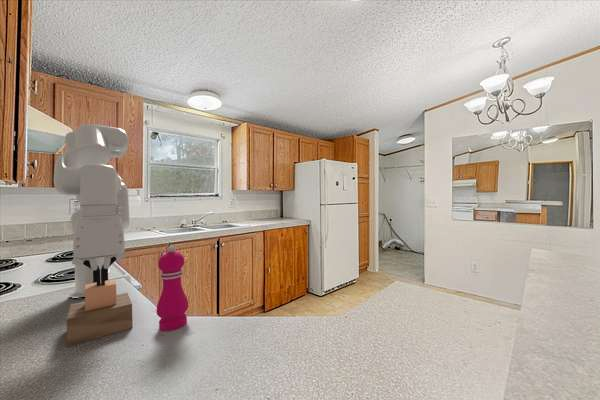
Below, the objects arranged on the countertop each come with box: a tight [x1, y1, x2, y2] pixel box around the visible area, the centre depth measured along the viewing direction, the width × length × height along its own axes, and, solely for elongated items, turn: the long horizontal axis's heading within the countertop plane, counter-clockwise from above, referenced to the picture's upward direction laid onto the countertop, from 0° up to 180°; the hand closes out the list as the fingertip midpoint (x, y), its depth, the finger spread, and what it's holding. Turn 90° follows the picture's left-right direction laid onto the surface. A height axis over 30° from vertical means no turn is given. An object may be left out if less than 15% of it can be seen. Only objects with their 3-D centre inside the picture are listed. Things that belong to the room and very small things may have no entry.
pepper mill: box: [155, 245, 189, 332], centre depth 63 cm, size 7×7×20 cm
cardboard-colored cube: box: [84, 279, 117, 311], centre depth 63 cm, size 6×6×5 cm
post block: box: [66, 292, 134, 347], centre depth 63 cm, size 12×12×6 cm
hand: (100, 284), depth 63 cm, fingers closed
